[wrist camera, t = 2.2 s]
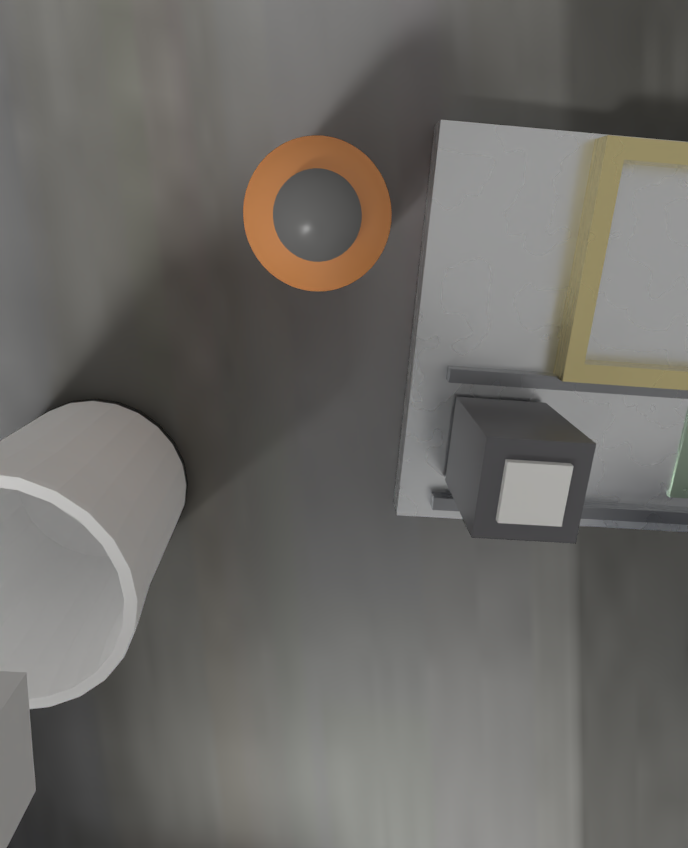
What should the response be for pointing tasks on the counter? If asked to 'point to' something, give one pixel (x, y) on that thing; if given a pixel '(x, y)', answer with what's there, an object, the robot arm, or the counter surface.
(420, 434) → the panel
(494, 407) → the breaker slider
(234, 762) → the counter surface
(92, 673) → the mug
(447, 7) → the counter surface
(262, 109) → the counter surface
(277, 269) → the cap
